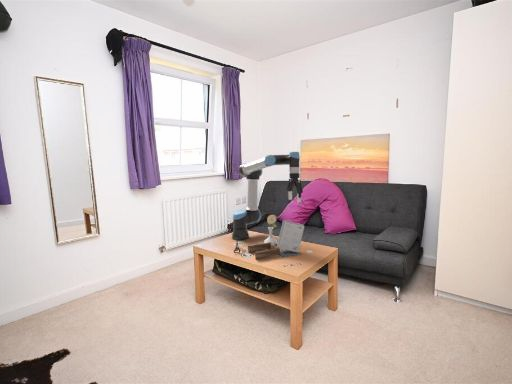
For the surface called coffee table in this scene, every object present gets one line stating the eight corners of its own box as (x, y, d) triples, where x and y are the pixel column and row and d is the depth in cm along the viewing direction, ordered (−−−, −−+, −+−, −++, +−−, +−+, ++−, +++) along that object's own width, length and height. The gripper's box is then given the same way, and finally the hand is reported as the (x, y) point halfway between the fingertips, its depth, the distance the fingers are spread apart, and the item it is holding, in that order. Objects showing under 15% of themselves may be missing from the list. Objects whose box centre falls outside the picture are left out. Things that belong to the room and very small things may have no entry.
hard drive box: (296, 250, 203) (303, 224, 202) (298, 252, 195) (305, 226, 195) (276, 245, 203) (283, 219, 202) (277, 247, 195) (284, 220, 194)
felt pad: (276, 251, 202) (276, 251, 202) (292, 249, 207) (292, 248, 207) (283, 257, 191) (283, 256, 191) (300, 254, 196) (300, 253, 196)
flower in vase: (261, 243, 221) (260, 213, 218) (271, 241, 228) (271, 211, 224) (271, 248, 210) (270, 216, 207) (282, 244, 217) (281, 214, 214)
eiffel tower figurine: (235, 256, 195) (234, 238, 194) (225, 253, 202) (225, 236, 200) (249, 251, 207) (248, 233, 205) (239, 248, 213) (239, 231, 212)
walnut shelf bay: (248, 252, 203) (247, 245, 202) (270, 248, 209) (270, 242, 209) (256, 259, 187) (255, 252, 187) (280, 255, 194) (279, 248, 193)
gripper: (282, 172, 212) (282, 198, 215) (298, 173, 189) (298, 203, 192) (290, 171, 215) (291, 198, 218) (307, 173, 192) (307, 202, 195)
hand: (294, 200), depth 205 cm, fingers open, 13 cm apart
